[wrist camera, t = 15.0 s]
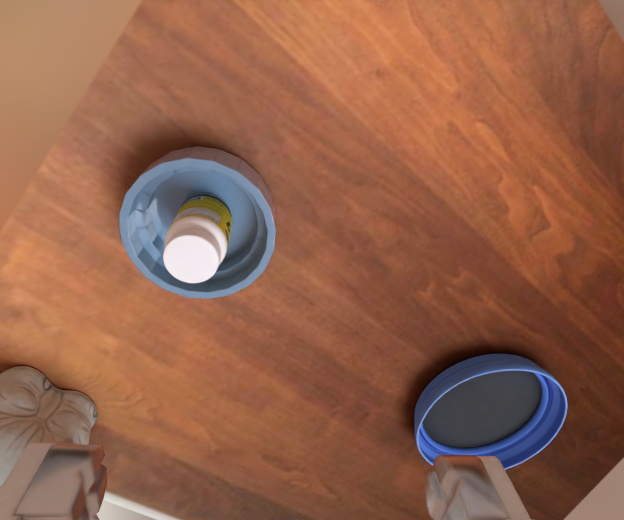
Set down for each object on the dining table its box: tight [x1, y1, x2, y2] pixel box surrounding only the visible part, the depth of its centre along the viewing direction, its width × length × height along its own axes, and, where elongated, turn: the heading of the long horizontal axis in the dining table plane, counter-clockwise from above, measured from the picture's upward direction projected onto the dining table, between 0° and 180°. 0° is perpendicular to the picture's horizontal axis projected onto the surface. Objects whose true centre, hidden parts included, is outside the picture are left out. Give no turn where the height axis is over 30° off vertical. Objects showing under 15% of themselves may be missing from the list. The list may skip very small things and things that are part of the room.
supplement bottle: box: [163, 193, 233, 283], centre depth 34 cm, size 5×5×8 cm
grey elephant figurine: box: [0, 366, 99, 520], centre depth 40 cm, size 16×15×19 cm
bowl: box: [414, 354, 567, 470], centre depth 51 cm, size 18×18×4 cm
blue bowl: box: [119, 146, 276, 299], centre depth 37 cm, size 12×12×4 cm
